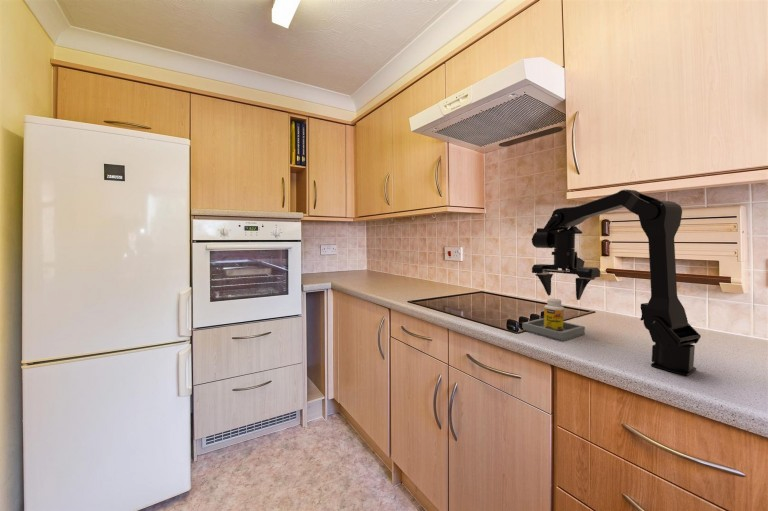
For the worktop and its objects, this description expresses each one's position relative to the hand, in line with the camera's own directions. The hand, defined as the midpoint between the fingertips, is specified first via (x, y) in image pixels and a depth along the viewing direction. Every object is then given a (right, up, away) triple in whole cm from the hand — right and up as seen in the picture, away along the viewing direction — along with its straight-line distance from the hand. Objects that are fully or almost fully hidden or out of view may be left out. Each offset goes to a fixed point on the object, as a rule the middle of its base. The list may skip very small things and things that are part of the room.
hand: (563, 297), depth 101 cm
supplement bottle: (-2, -11, +2) cm, 12 cm away
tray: (-2, -12, +2) cm, 12 cm away
